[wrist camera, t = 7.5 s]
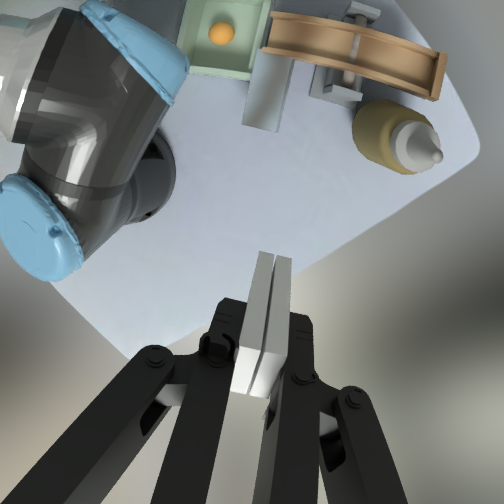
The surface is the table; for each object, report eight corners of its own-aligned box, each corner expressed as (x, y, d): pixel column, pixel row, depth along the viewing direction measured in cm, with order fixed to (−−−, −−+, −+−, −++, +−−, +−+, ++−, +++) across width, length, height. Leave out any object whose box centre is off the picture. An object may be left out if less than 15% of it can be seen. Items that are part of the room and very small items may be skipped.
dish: (185, 73, 34) (171, 70, 30) (202, -3, 28) (190, -14, 24) (256, 83, 34) (251, 80, 30) (274, 4, 28) (272, -8, 24)
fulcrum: (309, 96, 34) (314, 94, 26) (328, 14, 28) (338, -10, 20) (354, 109, 34) (373, 112, 26) (373, 28, 28) (395, 10, 20)
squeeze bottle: (364, 86, 32) (422, 82, 16) (413, 121, 33) (490, 146, 18) (334, 137, 36) (370, 169, 20) (384, 169, 37) (442, 223, 21)
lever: (254, 123, 35) (234, 124, 30) (279, 11, 27) (262, -5, 22) (408, 172, 30) (414, 181, 25) (439, 52, 23) (450, 40, 18)
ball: (236, 46, 30) (223, 47, 32) (242, 24, 29) (227, 26, 31) (214, 41, 28) (201, 43, 30) (219, 17, 27) (206, 20, 29)
